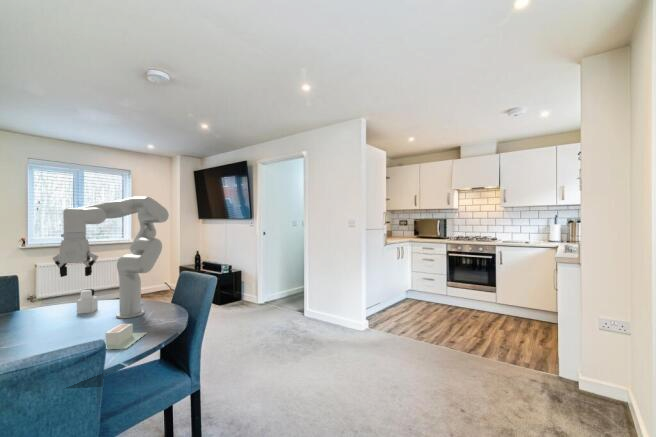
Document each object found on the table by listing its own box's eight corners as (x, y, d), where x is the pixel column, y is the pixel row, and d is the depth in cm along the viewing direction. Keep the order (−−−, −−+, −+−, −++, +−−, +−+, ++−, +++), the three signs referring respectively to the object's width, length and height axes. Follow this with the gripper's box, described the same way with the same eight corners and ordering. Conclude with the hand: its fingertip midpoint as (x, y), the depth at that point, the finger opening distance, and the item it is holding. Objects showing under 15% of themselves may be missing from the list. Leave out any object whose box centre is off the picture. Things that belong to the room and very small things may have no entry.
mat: (113, 335, 136) (113, 333, 136) (147, 333, 137) (147, 332, 137) (88, 350, 120) (88, 349, 120) (126, 349, 121) (126, 347, 121)
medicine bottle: (82, 310, 173) (82, 288, 173) (97, 309, 175) (97, 287, 175) (76, 314, 166) (76, 291, 166) (92, 312, 169) (92, 290, 168)
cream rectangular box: (105, 345, 123) (105, 332, 123) (120, 335, 133) (120, 323, 133) (118, 344, 124) (118, 331, 124) (132, 335, 134) (132, 323, 134)
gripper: (46, 237, 131) (47, 278, 131) (91, 236, 133) (92, 276, 133) (59, 236, 138) (60, 274, 139) (101, 235, 140) (102, 273, 141)
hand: (76, 275), depth 136 cm, fingers open, 9 cm apart
